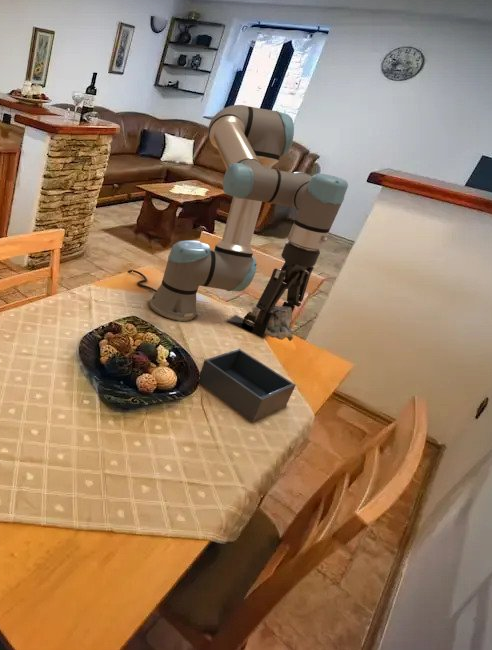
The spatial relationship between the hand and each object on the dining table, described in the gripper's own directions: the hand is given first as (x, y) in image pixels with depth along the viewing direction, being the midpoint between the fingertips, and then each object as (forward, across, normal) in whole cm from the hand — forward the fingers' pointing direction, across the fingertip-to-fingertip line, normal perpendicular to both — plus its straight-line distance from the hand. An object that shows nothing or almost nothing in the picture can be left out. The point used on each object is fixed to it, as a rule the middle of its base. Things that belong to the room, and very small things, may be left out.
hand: (268, 330), depth 124 cm
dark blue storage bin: (+18, -3, -1) cm, 18 cm away
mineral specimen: (0, 0, 0) cm, 0 cm away
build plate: (+18, +32, +22) cm, 42 cm away
